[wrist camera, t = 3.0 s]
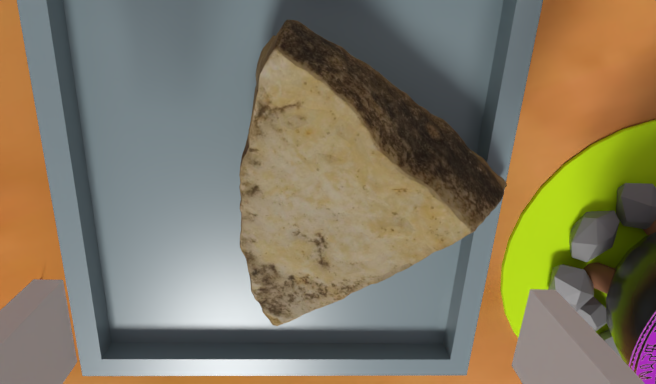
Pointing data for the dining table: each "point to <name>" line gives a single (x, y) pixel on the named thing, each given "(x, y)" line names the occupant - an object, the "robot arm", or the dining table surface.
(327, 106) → the rock
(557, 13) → the dining table surface
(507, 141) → the tray
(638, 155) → the toy cauldron
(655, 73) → the dining table surface
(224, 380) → the dining table surface
